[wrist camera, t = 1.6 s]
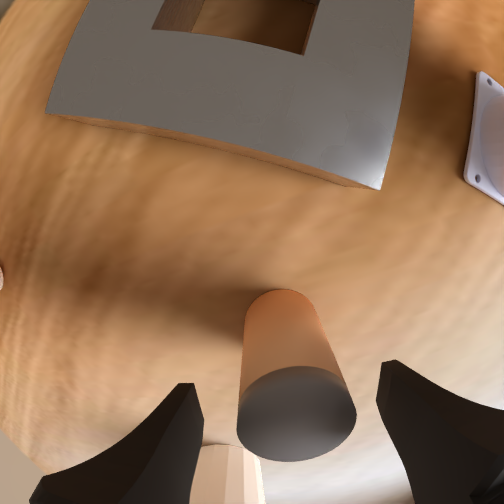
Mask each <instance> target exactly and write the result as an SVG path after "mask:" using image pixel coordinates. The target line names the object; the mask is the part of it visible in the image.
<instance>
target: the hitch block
mask: <svg viewBox="0 0 504 504" xmlns="http://www.w3.org/2000/svg"><path fill="white" fill-rule="evenodd" d="M204 1H205V0H90V1H89V3H88V5H87V7H86V9H85V11H84V13H83V14H82V16H81V19H80V21H79V23H78V25H77V27H76V29H75V31H74V33H73V35H72V38H71V40H70V42H69V45H68V47H67V49H66V52H65V54H64V57H63V59H62V62H61V65H60V67H59V70H58V73H57V75H56V78H55V81H54V84H53V87H52V90H51V93H50V97H49V100H48V103H47V107H46V110H45V113H46V114H50V115H55V116H59V117H63V118H67V119H71V120H75V121H78V122H82V123H86V124H90V125H94V126H101V127H108V128H115V129H121V130H127V131H133V132H139V133H144V134H150V135H155V136H160V137H166V138H170V139H175V140H180V141H185V142H189V143H194V144H198V145H203V146H207V147H211V148H216V149H220V150H224V151H228V152H232V153H236V154H240V155H244V156H247V157H251V158H255V159H258V160H262V161H266V162H269V163H273V164H276V165H280V166H283V167H286V168H290V169H293V170H296V171H300V172H303V173H306V174H309V175H312V176H315V177H319V178H322V179H325V180H328V181H331V182H334V183H337V184H340V185H342V186H345V187H355V188H364V189H373V190H380V188H381V184H382V181H383V177H384V173H385V170H386V166H387V162H388V158H389V154H390V150H391V146H392V141H393V137H394V133H395V128H396V124H397V119H398V114H399V109H400V104H401V99H402V94H403V88H404V83H405V77H406V70H407V64H408V57H409V50H410V42H411V34H412V24H413V14H414V1H415V0H301V1H305V2H308V3H312V4H315V8H314V12H313V15H312V18H311V22H310V25H309V29H308V32H307V35H306V39H305V42H304V45H303V49H302V52H301V55H299V54H295V53H292V52H288V51H284V50H281V49H277V48H273V47H269V46H264V45H260V44H256V43H251V42H246V41H241V40H236V39H230V38H225V37H219V36H212V35H205V34H197V33H191V30H192V28H193V26H194V23H195V21H196V19H197V16H198V14H199V12H200V10H201V7H202V5H203V3H204Z"/></svg>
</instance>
